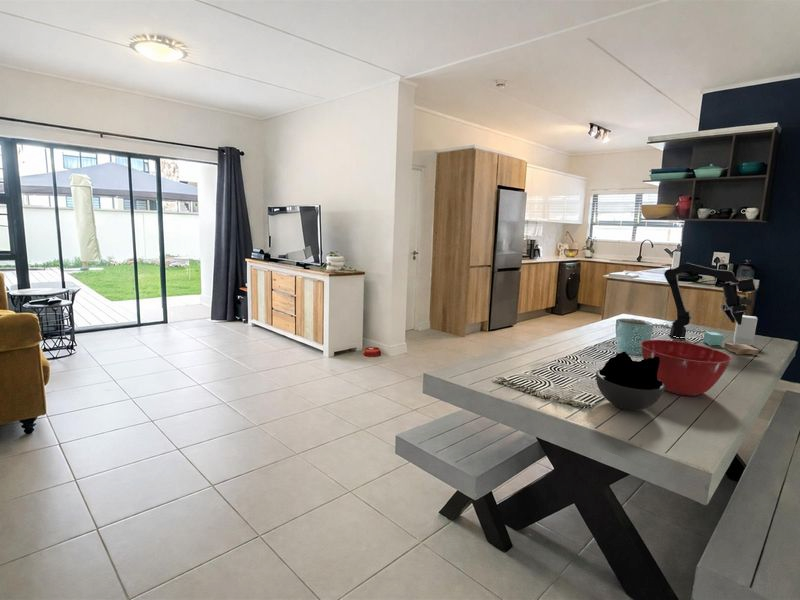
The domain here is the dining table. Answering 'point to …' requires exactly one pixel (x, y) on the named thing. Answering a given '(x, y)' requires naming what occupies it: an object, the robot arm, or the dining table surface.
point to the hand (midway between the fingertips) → (736, 323)
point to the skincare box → (745, 330)
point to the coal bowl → (630, 382)
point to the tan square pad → (741, 348)
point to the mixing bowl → (686, 365)
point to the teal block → (713, 338)
